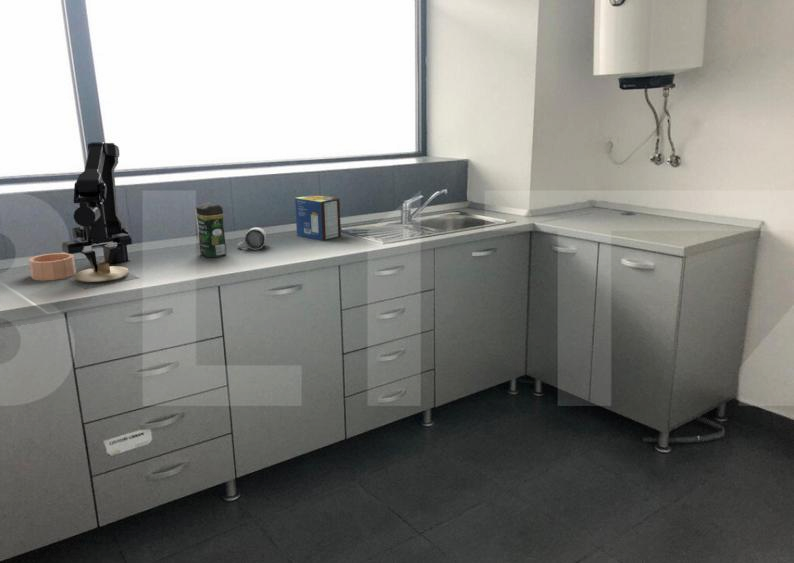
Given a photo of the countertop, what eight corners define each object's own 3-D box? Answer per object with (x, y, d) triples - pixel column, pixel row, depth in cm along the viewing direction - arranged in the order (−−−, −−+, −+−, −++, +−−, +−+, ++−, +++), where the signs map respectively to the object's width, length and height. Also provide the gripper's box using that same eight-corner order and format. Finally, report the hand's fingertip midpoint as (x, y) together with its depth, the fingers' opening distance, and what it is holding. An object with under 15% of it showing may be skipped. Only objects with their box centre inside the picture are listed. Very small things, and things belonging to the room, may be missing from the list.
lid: (116, 266, 203) (115, 254, 202) (137, 274, 193) (135, 262, 192) (67, 275, 192) (65, 263, 191) (86, 284, 182) (84, 272, 181)
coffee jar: (196, 254, 224) (192, 202, 219) (217, 251, 229) (213, 200, 224) (209, 259, 217) (204, 205, 212) (230, 255, 222) (225, 203, 217)
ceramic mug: (267, 244, 239) (266, 224, 237) (266, 249, 231) (264, 228, 229) (239, 246, 238) (237, 226, 236) (236, 251, 230) (234, 230, 228)
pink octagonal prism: (67, 269, 205) (64, 251, 203) (81, 276, 197) (78, 257, 195) (27, 276, 197) (23, 257, 195) (39, 284, 189) (36, 264, 187)
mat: (118, 270, 204) (118, 268, 204) (140, 279, 193) (139, 277, 193) (65, 279, 193) (65, 278, 193) (85, 290, 182) (85, 288, 182)
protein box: (315, 231, 262) (313, 194, 258) (341, 236, 253) (340, 198, 248) (296, 235, 255) (294, 197, 250) (322, 241, 245) (320, 201, 241)
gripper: (114, 213, 200) (121, 260, 204) (51, 221, 187) (59, 271, 191) (130, 217, 192) (136, 266, 197) (65, 226, 179) (73, 278, 184)
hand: (101, 270), depth 192 cm, fingers closed on lid, 3 cm apart
